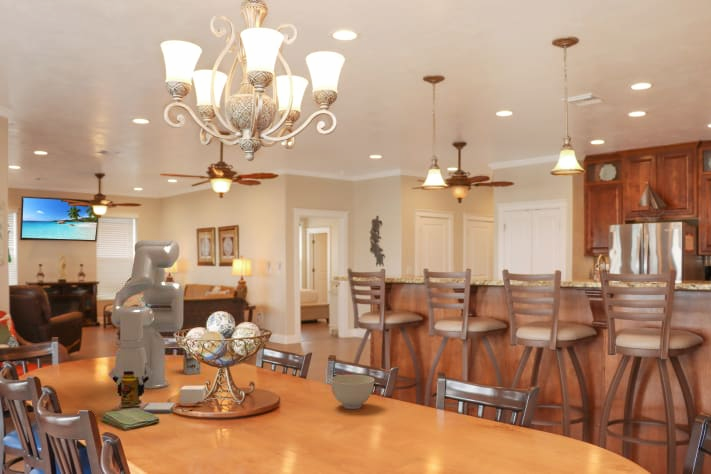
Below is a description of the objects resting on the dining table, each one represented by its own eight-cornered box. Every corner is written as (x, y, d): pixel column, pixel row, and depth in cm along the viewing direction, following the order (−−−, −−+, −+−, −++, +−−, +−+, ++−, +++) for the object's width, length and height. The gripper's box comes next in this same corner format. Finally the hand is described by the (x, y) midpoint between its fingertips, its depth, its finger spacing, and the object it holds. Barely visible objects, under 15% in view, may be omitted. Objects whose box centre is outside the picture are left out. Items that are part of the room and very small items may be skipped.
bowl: (369, 413, 222) (370, 385, 222) (325, 411, 226) (325, 382, 226) (377, 402, 238) (377, 375, 238) (335, 400, 241) (335, 373, 241)
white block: (183, 401, 237) (184, 385, 237) (205, 401, 237) (205, 385, 237) (180, 406, 231) (180, 389, 231) (202, 406, 231) (202, 389, 231)
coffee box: (200, 373, 287) (201, 338, 288) (186, 375, 285) (186, 338, 285) (196, 370, 296) (197, 335, 296) (182, 371, 293) (183, 336, 293)
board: (121, 406, 230) (121, 402, 230) (177, 406, 231) (177, 402, 231) (111, 413, 220) (111, 409, 220) (170, 413, 221) (170, 409, 221)
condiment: (119, 407, 220) (119, 372, 220) (120, 401, 228) (120, 367, 228) (141, 406, 222) (141, 371, 222) (141, 400, 230) (142, 366, 230)
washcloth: (125, 433, 199) (125, 422, 199) (98, 421, 211) (98, 412, 211) (162, 424, 209) (163, 414, 209) (135, 414, 221) (135, 404, 221)
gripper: (102, 345, 221) (102, 398, 221) (153, 346, 222) (152, 398, 222) (110, 342, 229) (109, 392, 229) (159, 342, 229) (158, 392, 229)
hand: (131, 394), depth 225 cm, fingers closed on condiment, 6 cm apart
